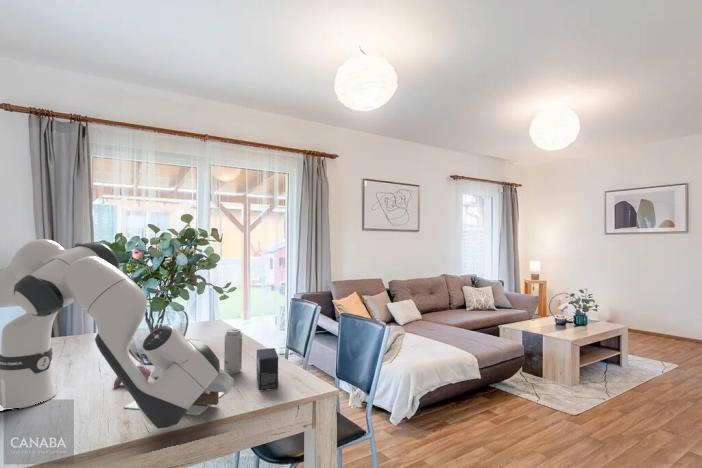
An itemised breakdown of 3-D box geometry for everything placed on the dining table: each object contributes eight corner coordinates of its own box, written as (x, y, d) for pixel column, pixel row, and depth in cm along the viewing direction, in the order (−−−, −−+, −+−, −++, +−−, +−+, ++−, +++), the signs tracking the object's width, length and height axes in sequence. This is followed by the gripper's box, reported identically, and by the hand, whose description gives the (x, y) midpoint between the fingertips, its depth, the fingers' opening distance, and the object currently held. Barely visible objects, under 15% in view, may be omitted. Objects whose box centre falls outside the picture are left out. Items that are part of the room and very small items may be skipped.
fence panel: (215, 405, 108) (216, 374, 108) (177, 402, 109) (178, 371, 109) (218, 403, 109) (219, 372, 109) (180, 399, 111) (181, 369, 111)
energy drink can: (224, 369, 138) (225, 328, 138) (241, 368, 140) (242, 328, 140) (223, 375, 132) (224, 333, 133) (241, 374, 134) (242, 332, 134)
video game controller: (149, 388, 124) (154, 366, 127) (142, 387, 120) (148, 364, 123) (118, 388, 123) (124, 366, 127) (111, 387, 119) (117, 364, 123)
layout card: (123, 408, 107) (123, 406, 107) (166, 382, 125) (166, 381, 125) (199, 415, 103) (199, 413, 103) (231, 387, 122) (231, 386, 122)
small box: (255, 379, 130) (255, 348, 130) (274, 377, 132) (274, 347, 132) (258, 391, 120) (258, 358, 120) (278, 389, 122) (279, 356, 122)
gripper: (227, 360, 97) (243, 383, 107) (157, 354, 101) (179, 377, 111) (217, 384, 93) (235, 406, 103) (144, 376, 97) (168, 398, 106)
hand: (205, 391), depth 107 cm, fingers closed
